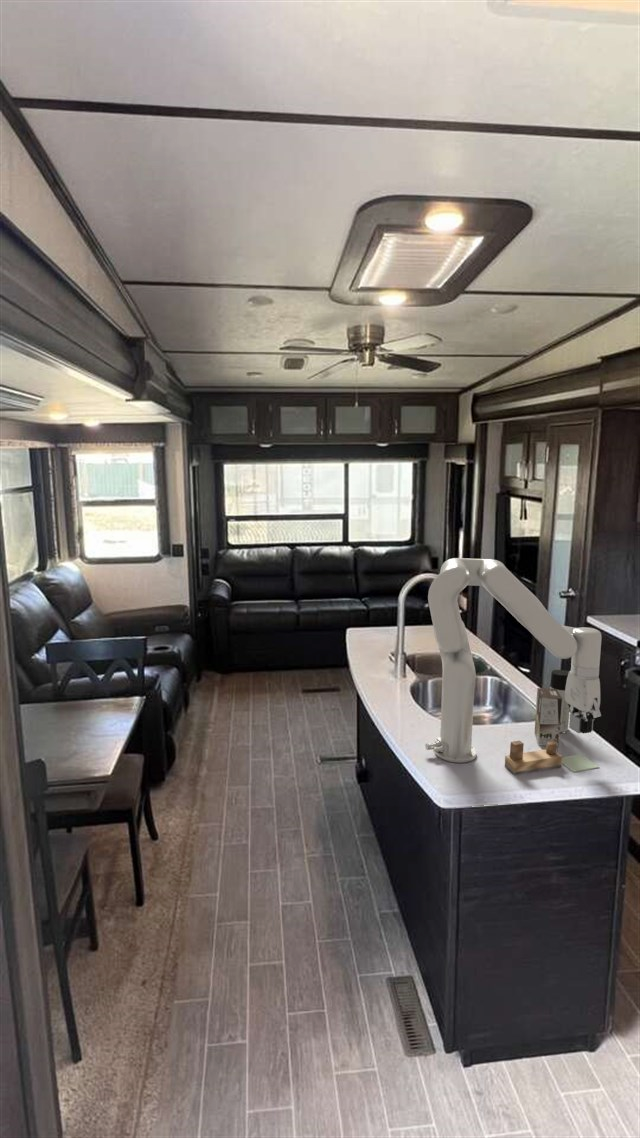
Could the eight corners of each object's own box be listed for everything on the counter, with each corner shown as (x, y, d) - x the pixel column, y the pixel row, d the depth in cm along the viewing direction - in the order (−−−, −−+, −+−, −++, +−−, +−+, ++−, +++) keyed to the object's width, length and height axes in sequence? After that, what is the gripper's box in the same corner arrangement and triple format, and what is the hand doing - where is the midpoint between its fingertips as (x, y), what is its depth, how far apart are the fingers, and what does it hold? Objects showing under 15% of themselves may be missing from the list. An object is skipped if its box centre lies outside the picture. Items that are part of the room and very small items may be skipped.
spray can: (544, 724, 209) (548, 668, 205) (564, 724, 208) (568, 669, 205) (550, 733, 202) (554, 675, 199) (571, 733, 202) (575, 676, 198)
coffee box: (559, 747, 192) (562, 699, 189) (537, 745, 193) (541, 697, 190) (554, 734, 201) (557, 688, 198) (533, 733, 202) (536, 687, 199)
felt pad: (573, 772, 177) (573, 771, 177) (555, 759, 184) (555, 758, 184) (599, 767, 179) (599, 766, 179) (580, 755, 187) (580, 754, 187)
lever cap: (578, 733, 177) (579, 715, 176) (569, 727, 181) (570, 710, 180) (592, 731, 179) (593, 713, 178) (583, 725, 182) (584, 708, 181)
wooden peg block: (514, 774, 175) (516, 747, 174) (504, 766, 180) (506, 739, 178) (561, 767, 180) (563, 740, 178) (550, 759, 184) (552, 733, 183)
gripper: (555, 662, 183) (551, 719, 187) (594, 681, 168) (590, 743, 171) (576, 660, 185) (572, 716, 189) (616, 678, 170) (611, 739, 173)
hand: (580, 728), depth 180 cm, fingers closed on lever cap, 4 cm apart
